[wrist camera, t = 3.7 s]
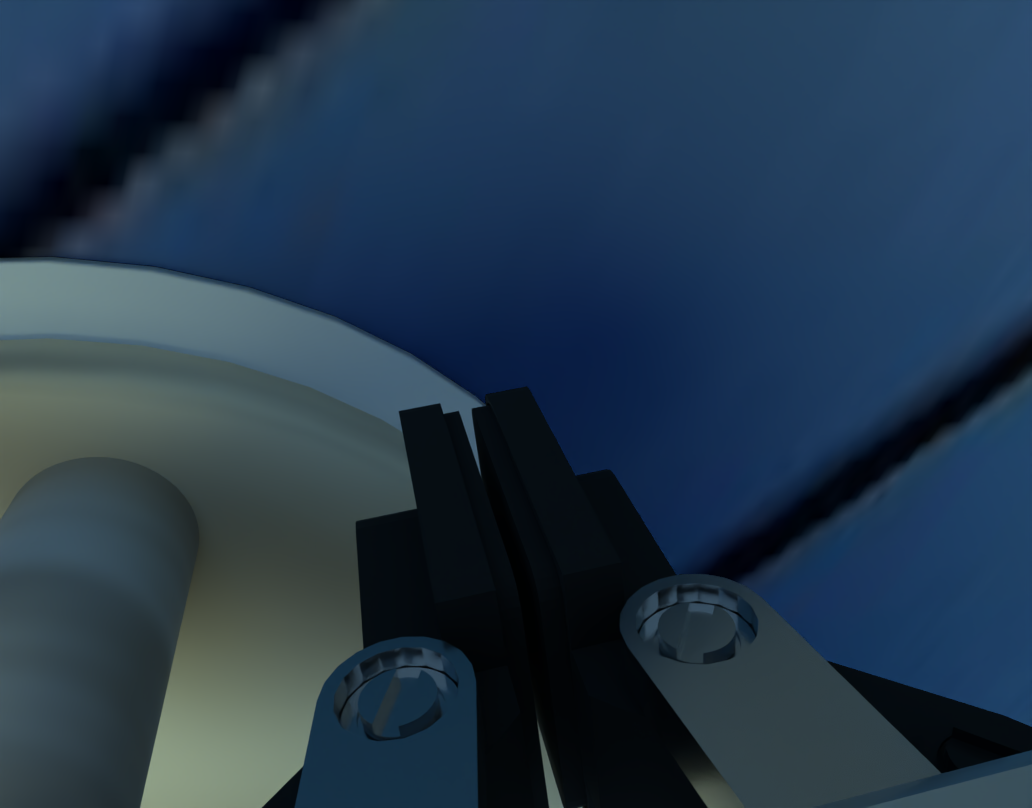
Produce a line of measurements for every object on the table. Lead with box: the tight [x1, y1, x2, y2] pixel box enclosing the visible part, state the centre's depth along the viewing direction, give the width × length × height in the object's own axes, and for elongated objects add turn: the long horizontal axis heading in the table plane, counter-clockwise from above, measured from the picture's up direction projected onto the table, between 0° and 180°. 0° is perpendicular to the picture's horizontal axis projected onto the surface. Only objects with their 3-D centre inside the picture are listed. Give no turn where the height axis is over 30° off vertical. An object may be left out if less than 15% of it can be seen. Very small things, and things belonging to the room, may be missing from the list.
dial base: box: [0, 257, 486, 475], centre depth 17 cm, size 21×21×1 cm
